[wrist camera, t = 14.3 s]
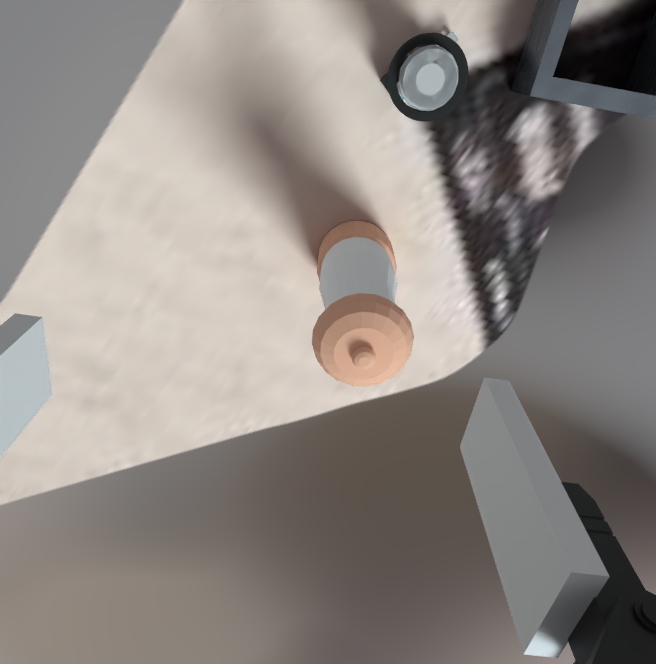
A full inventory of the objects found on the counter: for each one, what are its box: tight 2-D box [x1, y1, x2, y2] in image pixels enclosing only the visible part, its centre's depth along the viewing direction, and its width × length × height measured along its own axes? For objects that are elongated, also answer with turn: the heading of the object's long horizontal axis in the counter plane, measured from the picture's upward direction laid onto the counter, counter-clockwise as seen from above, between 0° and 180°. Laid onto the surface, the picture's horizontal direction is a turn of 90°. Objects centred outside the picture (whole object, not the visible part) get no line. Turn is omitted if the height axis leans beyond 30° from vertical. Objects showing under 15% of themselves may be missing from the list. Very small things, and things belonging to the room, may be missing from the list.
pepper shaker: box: [312, 220, 414, 386], centre depth 42 cm, size 7×7×19 cm
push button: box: [380, 32, 468, 121], centre depth 38 cm, size 7×5×10 cm
